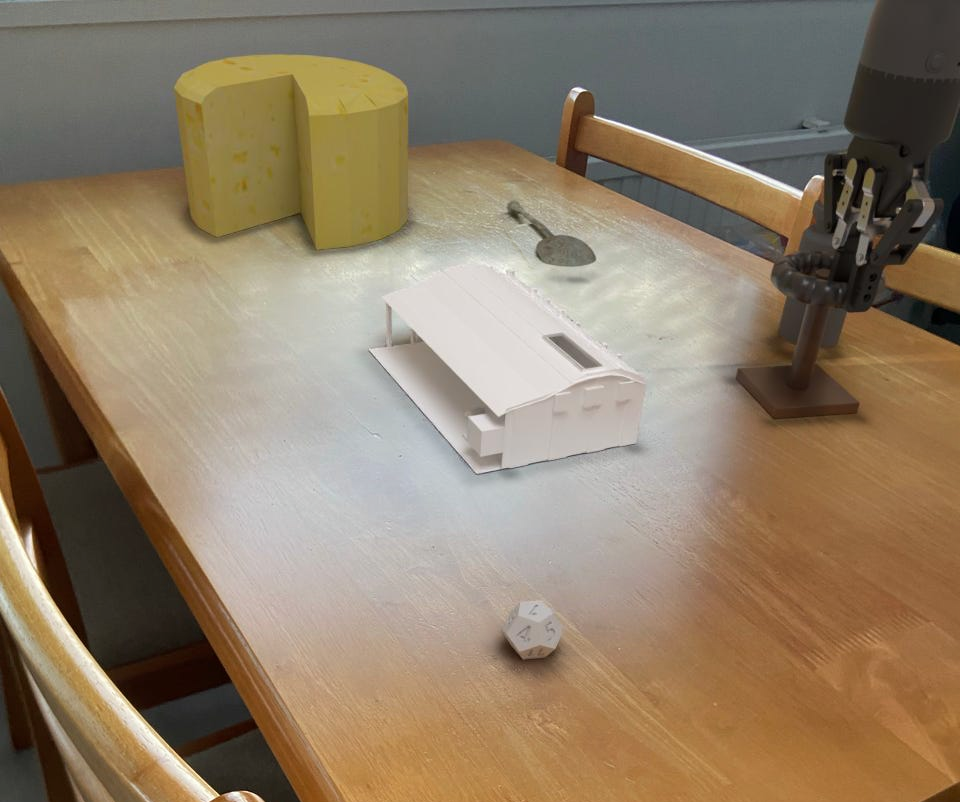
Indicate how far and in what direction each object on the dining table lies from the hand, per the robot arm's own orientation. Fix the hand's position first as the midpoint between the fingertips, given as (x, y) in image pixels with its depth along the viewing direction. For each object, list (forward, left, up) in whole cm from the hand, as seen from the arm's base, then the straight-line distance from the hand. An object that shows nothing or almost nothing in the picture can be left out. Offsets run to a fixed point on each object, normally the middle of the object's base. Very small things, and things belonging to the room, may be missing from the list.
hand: (846, 302), depth 82 cm
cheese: (+39, -58, -10) cm, 70 cm away
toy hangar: (+27, -8, -10) cm, 30 cm away
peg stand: (0, -4, -10) cm, 11 cm away
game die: (+33, +26, -10) cm, 43 cm away
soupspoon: (+12, -45, -10) cm, 47 cm away
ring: (0, -3, +1) cm, 4 cm away
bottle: (-6, -14, -10) cm, 18 cm away
